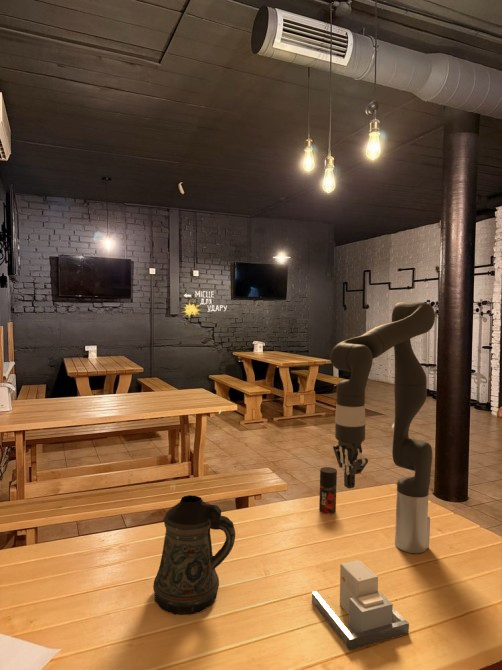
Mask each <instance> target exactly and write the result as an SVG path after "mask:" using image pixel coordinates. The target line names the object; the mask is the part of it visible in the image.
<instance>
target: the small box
mask: <svg viewBox="0 0 502 670" xmlns="http://www.w3.org/2000/svg"><path fill="white" fill-rule="evenodd" d="M339 568H340V570H339V571H340V572H339V573H340V574H339V578H340V579H339V606H340V607H342V608H343V610H344V611H345V612H346V614H348V615H349V603H350V598H353V597H357V596H361V595H365V594H369V593H374V592H378V591H379V576H378V575H376V573H375V572H373V571H372V570H371V569H370V568H369V567H368V566H367V565H365V564H364V563H363V562H362V561H361V560H359V559H357V560H352V561H348V562H344V563H340V567H339Z"/></svg>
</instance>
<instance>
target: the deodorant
mask: <svg viewBox="0 0 502 670" xmlns="http://www.w3.org/2000/svg"><path fill="white" fill-rule="evenodd" d="M337 474H338V470H337V468H336V467H332V466H323V467H321V468H320V469H319V500H318V501H319V503H318V504H319V507H318V509H319V510H320V511H319V512H320V513H321V512H322V513H321V514H324V515H333V514H336V513H337V484H338V482H337V479H338V475H337Z"/></svg>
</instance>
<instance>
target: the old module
mask: <svg viewBox="0 0 502 670" xmlns="http://www.w3.org/2000/svg"><path fill="white" fill-rule="evenodd" d="M393 606H394V605H393V603H392V602H391V601H390V600H389V599H388V598H387V597H385V596H384V595H383V594H382V592H381V591H380V590H378V592H374V593H369V594H365V595H361V596H357V597H353V598H350V603H349V614H348V630H349V631H350V632H352V634H355V633H359V632H363V631H366V630H370V629H374V628H377V627H381V626H385V625H388V624H392V609H393V608H394V607H393Z"/></svg>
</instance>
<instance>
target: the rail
mask: <svg viewBox="0 0 502 670" xmlns="http://www.w3.org/2000/svg"><path fill="white" fill-rule="evenodd" d="M311 602H312V604H313V605H314V607H315V608H316V609H317V610H318V612H319V613H320V615H321V616H322V617H323V618H324V620H325V621H326V622H327V624H328V625H329V626H330V627H331V629H332V630H333V631H334V632H335V634H336V635H337V636H338V638H339V639H340V640H341V641H342V642H343V644H344V645H345V647H346V648H347V649H348V651H349V652H351V651H354V650H356V649H357V650H358V649H361V648H364V647H367V646H372V645H374V644H378V643H381V642H385V641H389V640H393V639H395V638H396V639H397V638H398V637H403V636H406V635H409V632H410V630H409V629H410V622H408V621H407V620H406V619H405V618H404V617H403V616H402V615H401V614H400V613H399V612H398V611H397V610H396V609H395V608H394V607H393V609H392V624H388V625H385V626H381V627H377V628H374V629H370V630H366V631H363V632H359V633H355V634H354V633H351V631H350V629H349V628H347V627H346V626H345V624H344V623H343V622H342V621H341V619H340V617H338V616H337V614H335V612H334V610H332V608H330V606H329V605H328V604H327V603H326V601H325V600H324V599H323V598H322V596H321V595H320V593H318V591H317V590H315V591H312V592H311Z"/></svg>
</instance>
